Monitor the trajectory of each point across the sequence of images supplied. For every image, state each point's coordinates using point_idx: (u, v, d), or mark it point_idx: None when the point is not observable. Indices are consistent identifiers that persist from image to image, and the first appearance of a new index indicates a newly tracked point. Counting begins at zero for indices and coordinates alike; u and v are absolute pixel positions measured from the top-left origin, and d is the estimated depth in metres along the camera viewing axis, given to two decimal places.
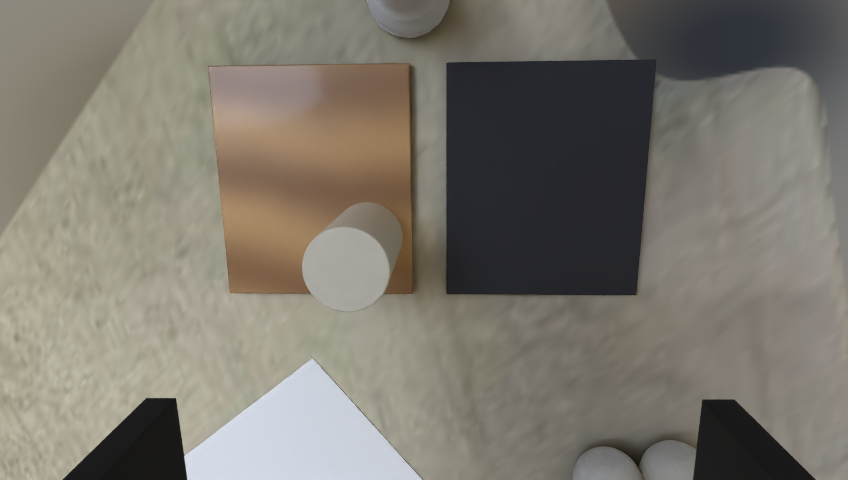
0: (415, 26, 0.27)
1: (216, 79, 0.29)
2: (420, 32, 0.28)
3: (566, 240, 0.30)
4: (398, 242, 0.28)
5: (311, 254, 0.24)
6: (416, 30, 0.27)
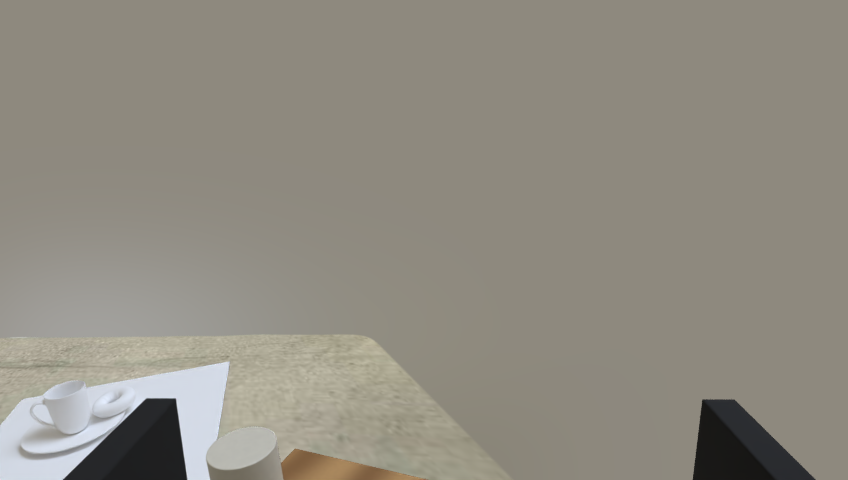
0: None
1: None
2: None
3: None
4: None
5: (268, 433, 0.32)
6: None
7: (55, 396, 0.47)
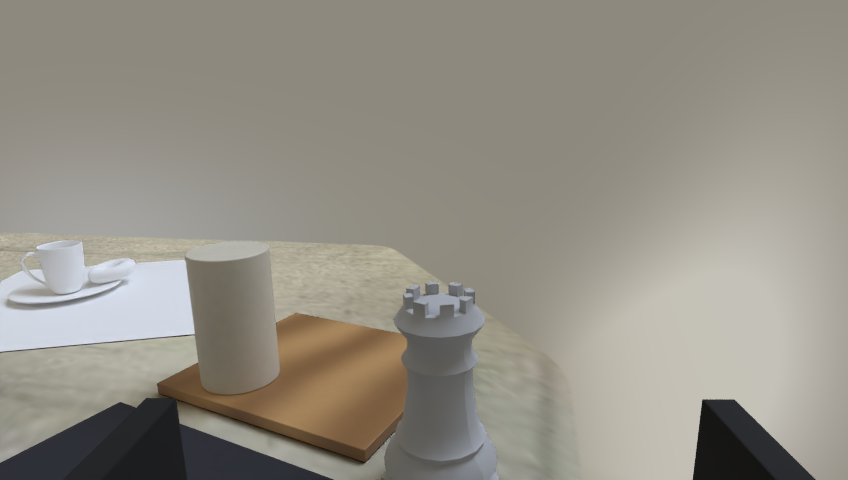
0: (392, 439, 0.21)
1: None
2: None
3: None
4: (209, 345, 0.26)
5: (260, 244, 0.28)
6: None
7: None
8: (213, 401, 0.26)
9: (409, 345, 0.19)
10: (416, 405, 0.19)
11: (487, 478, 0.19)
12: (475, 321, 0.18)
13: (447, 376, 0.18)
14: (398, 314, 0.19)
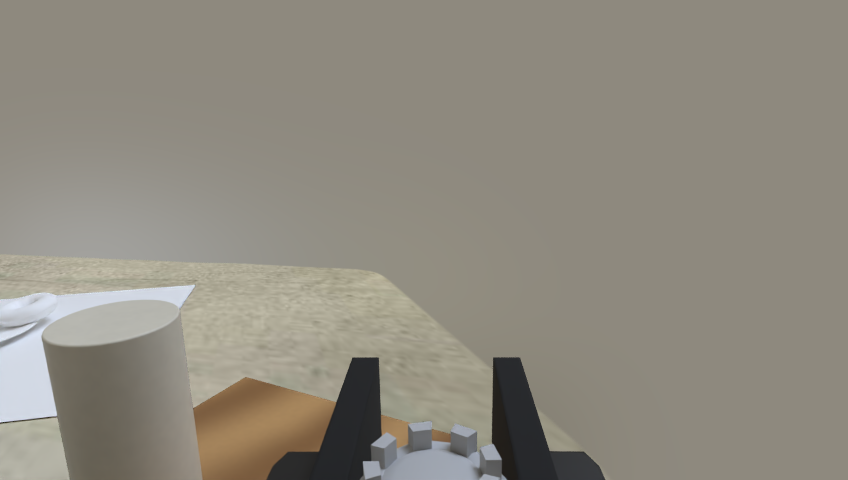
0: None
1: None
2: None
3: None
4: (80, 470, 0.17)
5: (168, 308, 0.19)
6: None
7: None
8: None
9: None
10: None
11: None
12: None
13: None
14: None
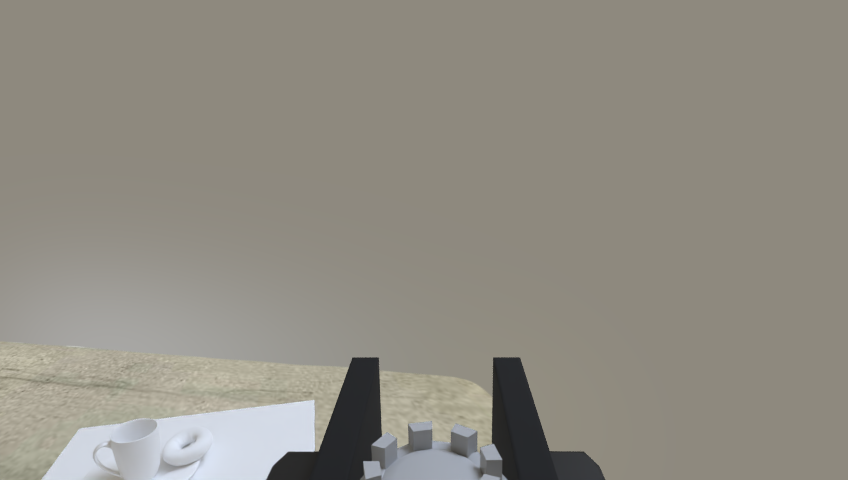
0: None
1: None
2: None
3: None
4: None
5: None
6: None
7: (122, 436, 0.39)
8: None
9: None
10: None
11: None
12: None
13: None
14: None
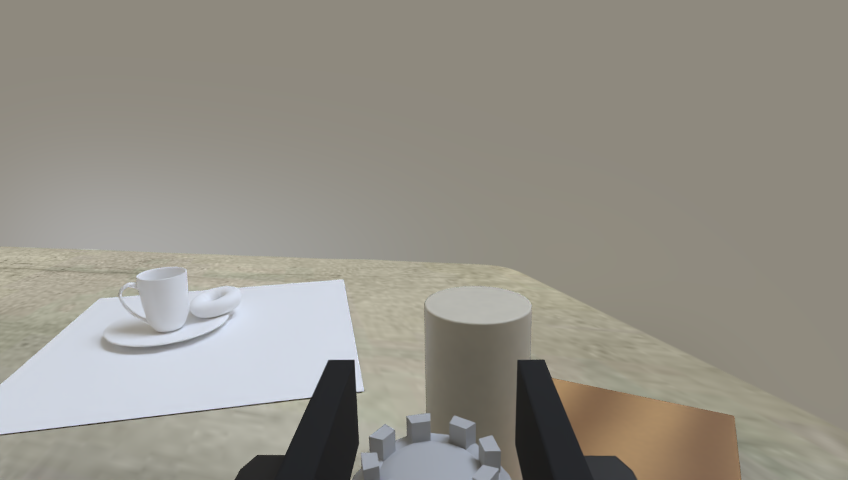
0: None
1: (716, 415, 0.25)
2: None
3: None
4: None
5: (509, 293, 0.21)
6: None
7: None
8: None
9: None
10: None
11: None
12: None
13: None
14: None
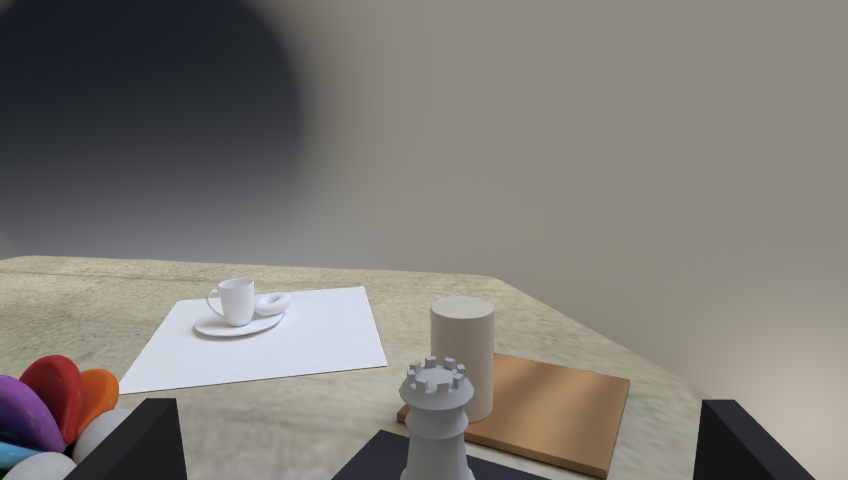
0: None
1: (618, 379, 0.38)
2: None
3: None
4: None
5: (482, 300, 0.34)
6: None
7: None
8: None
9: (412, 412, 0.23)
10: (418, 461, 0.23)
11: None
12: (465, 394, 0.22)
13: (442, 439, 0.22)
14: (403, 387, 0.23)
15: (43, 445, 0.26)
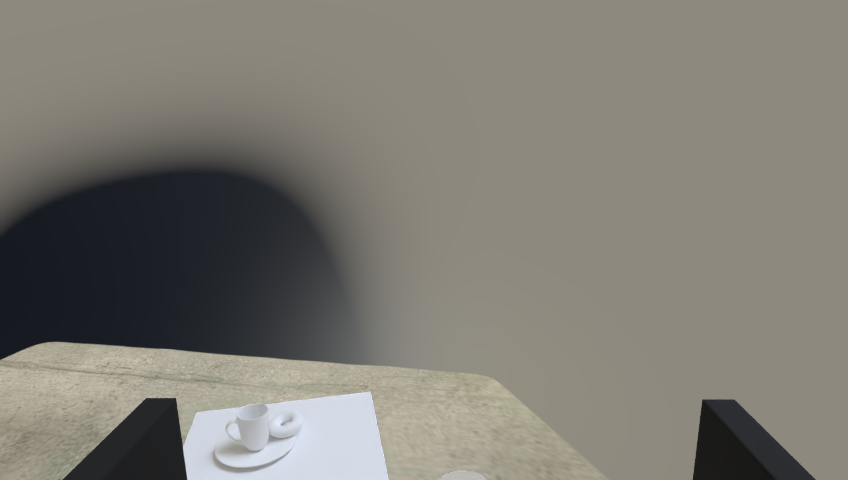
0: None
1: None
2: None
3: None
4: None
5: (480, 478, 0.38)
6: None
7: (241, 416, 0.54)
8: None
9: None
10: None
11: None
12: None
13: None
14: None
15: None
